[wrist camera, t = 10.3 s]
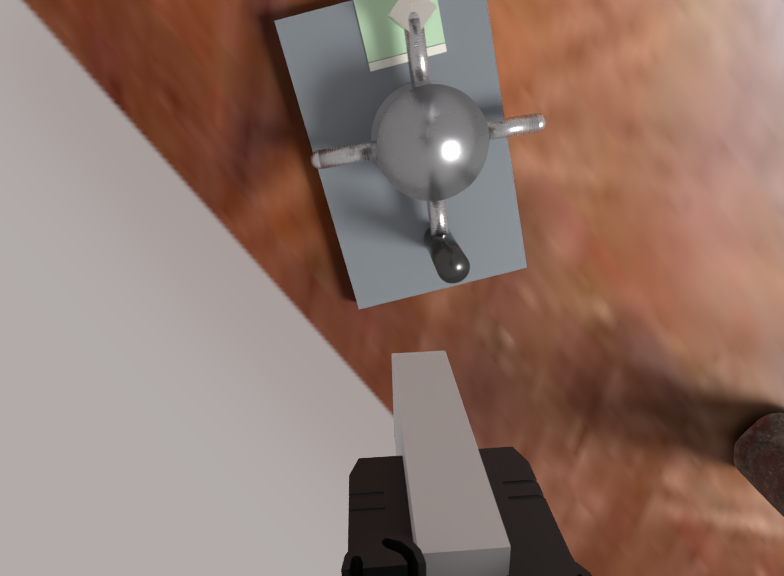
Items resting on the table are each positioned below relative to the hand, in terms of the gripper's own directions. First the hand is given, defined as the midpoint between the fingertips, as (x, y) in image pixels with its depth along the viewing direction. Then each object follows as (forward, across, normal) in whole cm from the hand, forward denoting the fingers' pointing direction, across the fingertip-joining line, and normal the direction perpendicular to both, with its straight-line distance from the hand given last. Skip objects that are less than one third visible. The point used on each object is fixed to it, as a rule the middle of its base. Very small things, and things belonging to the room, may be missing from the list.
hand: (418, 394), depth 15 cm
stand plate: (+24, +2, +4) cm, 25 cm away
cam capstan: (+23, +3, +5) cm, 24 cm away
